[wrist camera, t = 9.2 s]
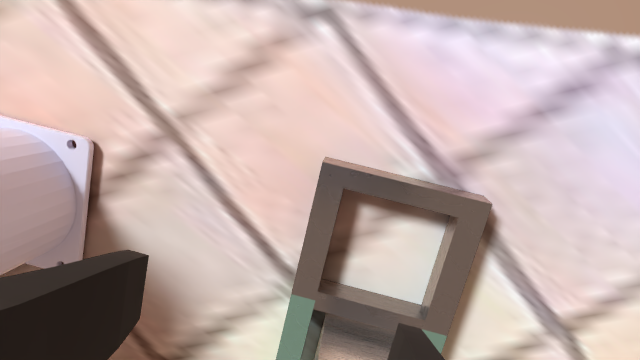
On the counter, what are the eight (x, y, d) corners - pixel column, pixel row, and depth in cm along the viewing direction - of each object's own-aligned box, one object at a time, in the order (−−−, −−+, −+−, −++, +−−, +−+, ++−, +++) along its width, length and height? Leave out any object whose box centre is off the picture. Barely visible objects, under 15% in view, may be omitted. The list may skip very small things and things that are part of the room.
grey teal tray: (270, 388, 24) (264, 407, 23) (325, 156, 21) (322, 161, 19) (405, 426, 24) (408, 448, 22) (483, 196, 20) (492, 204, 19)
